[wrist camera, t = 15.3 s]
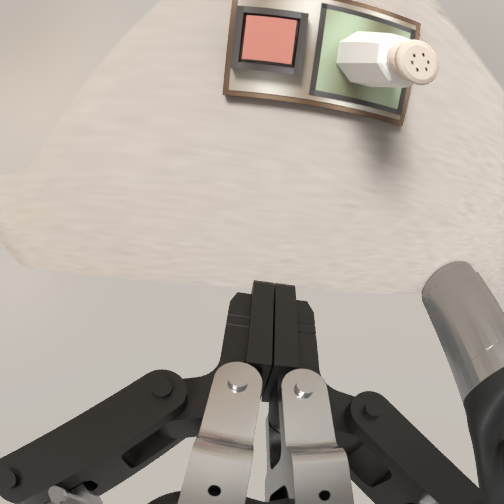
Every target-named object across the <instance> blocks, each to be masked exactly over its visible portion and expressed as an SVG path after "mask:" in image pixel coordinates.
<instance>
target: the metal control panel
mask: <svg viewBox="0 0 504 504" xmlns="http://www.w3.org/2000/svg"><path fill="white" fill-rule="evenodd" d="M247 15H254V16H265V17H274V18H282V19H289V20H296V21H297V25H296V32H295V40H294V48H293V55H292V63H291V64H284V63H277V62H268V61H259V60H248V59H242V52H243V43H244V34H245V25H246V17H247ZM420 25H421V23H418V22H416V21H413V20H411V19H408V18H405V17H403V16H400V15H397V14H394V13H391V12H389V11H386V10H383V9H379V8H376V7H373V6H370V5H366V4H363V3H359V2H356V1H352V0H232V8H231V16H230V25H229V34H228V44H227V53H226V64H225V74H224V85H223V95H232V96H244V97H255V98H264V99H272V100H280V101H287V102H294V103H301V104H307V105H313V106H319V107H324V108H329V109H335V110H340V111H344V112H349V113H354V114H358V115H362V116H367V117H371V118H375V119H379V120H383V121H386V122H390V123H394V124H397V125H401V126H403V121H404V117H405V112H406V108H407V103H408V98H409V93H410V88H411V85H410V86H409V87H405V88H400V87H369V86H365V85H361V84H357V83H353V82H350V81H349V80H348V78H347V77H346V76H345V74H344V73H343V72H342V70H341V69H340V67H339V66H338V65H337V63H336V61H337V55H338V48H339V42H340V41H342V40H343V39H345V38H347V37H348V36H350V35H352V34H353V33H355V32H357V31H365V32H381V33H392V34H396V35H400V36H403V37H405V38H408V39H411V40H413V39H415V40H419V33H420Z"/></svg>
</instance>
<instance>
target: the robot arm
mask: <svg viewBox="0 0 504 504" xmlns="http://www.w3.org/2000/svg"><path fill="white" fill-rule="evenodd" d="M422 301H423V303H424V305H425V308H426V310H427V312H428V314H429V316H430V319H431V321H432V323H433V326H434V328H435V330H436V332H437V335H438V337H439V340H440V342H441V345H442V347H443V350H444V352H445V355H446V357H447V360H448V362H449V365H450V368H451V370H452V373H453V376H454V378H455V381H456V384H457V387H458V389H459V392H460V396H461V399H462V401H463V405H464V408H465V411H466V415H467V422H468V428H469V432H470V436H471V440H472V444H473V449H474V455H475V460H476V467H477V475H478V482H479V488H478V487H477V486H476V485H475V484H474V483H473V482H472V481H471V480H470V479H469V478H468V477H466V476H465V475H464V474H463V473H462V472H461V471H460V470H459V469H458V468H457V467H456V466H455V465H454V464H453V463H452V462H451V461H450V460H449V459H448V458H446V456H444V455H443V454H442V453H441V452H440V451H439V450H438V449H437V448H436V447H435V446H434V445H433V444H432V443H431V442H430V441H429V440H428V439H427V438H426V437H425V436H424V435H423V434H422V433H420V431H418V430H417V429H416V428H415V427H414V426H413V425H412V424H411V423H410V422H409V421H408V420H407V419H406V418H405V417H404V416H403V415H402V414H401V413H400V412H399V411H398V410H397V409H396V408H395V407H394V406H393V405H392V404H390V402H389V401H388V400H387V399H386V398H384V397H383V396H382V395H380V394H378V393H376V392H371V391H366V392H362V393H360V394H358V395H357V396H356V397H354V396H351V395H348V394H345V393H342V392H339V391H336V390H334V389H333V388H331V387H330V386H328V385H327V384H326V383H325V381H324V380H323V378H322V377H321V375H320V371H319V363H318V351H317V341H316V336H315V334H316V331H315V326H314V325H315V321H314V312H313V311H312V309H311V308H310V306H309V304H308V302H307V301H300V300H296V292H295V286H293V285H285V284H278V283H275V284H274V283H270V282H263V281H256V280H254V282H253V287H252V293H251V294H246V293H239V292H238V293H237V294H236V295H235V296H234V297H233V299H232V300H231V301H230V306H229V311H228V316H227V322H226V328H225V334H224V340H223V346H222V352H221V358H220V362H219V364H218V366H217V367H216V368H215V369H214V370H213V371H212V372H210V373H209V374H207V375H204V376H202V377H195V378H187V379H182V378H181V377H180V376H179V375H177V374H176V373H174V372H172V371H169V370H155V371H152V372H150V373H148V374H146V375H144V376H143V377H141V378H140V379H138V380H137V381H135V382H133V383H132V384H130V385H129V386H127V387H125V388H124V389H122V390H120V391H119V392H117V393H115V394H114V395H112V396H110V397H109V398H107V399H105V400H104V401H102V402H100V403H99V404H97V405H95V406H94V407H92V408H90V409H89V410H87V411H85V412H84V413H82V414H80V415H79V416H77V417H75V418H74V419H72V420H70V421H68V422H66V423H65V424H63V425H61V426H59V427H58V428H56V429H54V430H53V431H51V432H49V433H47V434H45V435H43V436H42V437H40V438H38V439H36V440H34V441H33V442H31V443H29V444H27V445H25V446H23V447H21V448H20V449H18V450H16V451H14V452H12V453H10V454H8V455H7V456H4V457H3V458H1V459H0V496H1V497H2V498H4V499H5V500H7V501H9V502H12V503H14V504H103V503H102V501H101V499H100V497H99V496H100V495H102V494H103V493H105V492H107V491H108V490H110V489H111V488H113V487H115V486H116V485H118V484H119V483H121V482H123V481H124V480H126V479H127V478H129V477H130V476H132V475H134V474H135V473H137V472H138V471H140V470H141V469H143V468H144V467H146V466H147V465H149V464H150V463H151V462H153V461H154V460H155V459H157V458H159V457H160V456H161V455H163V454H164V453H166V452H167V451H169V450H170V449H171V448H173V447H174V446H175V445H177V444H178V443H179V442H181V441H182V440H184V439H185V438H187V437H195V436H197V437H196V439H195V442H194V445H193V448H192V452H191V456H190V459H189V463H188V467H187V471H186V474H185V478H184V482H183V486H182V489H181V491H178V492H173V493H169V494H166V495H163V496H161V497H158V498H157V499H155V500H153V501H151V502H150V503H148V504H354V500H353V493H352V486H351V480H352V481H353V482H354V483H355V484H356V485H357V486H358V487H359V488H360V489H361V490H362V491H363V492H364V493H365V494H366V495H367V496H368V497H369V498H370V499H371V500H372V501H373V502H374V503H375V504H504V312H503V310H502V309H501V307H500V305H499V304H498V302H497V301H496V299H495V298H494V296H493V294H492V293H491V291H490V290H489V288H488V287H487V285H486V283H485V282H484V281H483V279H482V278H481V276H480V275H479V273H477V272H475V271H474V269H473V268H472V267H471V266H470V265H469V264H468V263H466V262H454V263H450V264H448V265H446V266H444V267H442V268H441V269H439V270H438V271H437V272H436V273H434V274H433V275H432V277H431V278H430V279H429V280H428V282H427V283H426V285H425V287H424V289H423V293H422ZM261 396H262V401H263V402H269V413H268V416H267V418H266V447H267V475H266V479H265V502H261V501H258V500H255V499H251V498H248V497H246V494H247V489H248V483H249V477H250V471H251V465H252V459H253V441H254V435H255V428H256V422H257V416H258V409H259V403H260V399H261Z"/></svg>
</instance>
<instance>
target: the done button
mask: <svg viewBox="0 0 504 504" xmlns="http://www.w3.org/2000/svg"><path fill="white" fill-rule="evenodd" d="M296 25H297V21H296V20H289V19H282V18H274V17H265V16H254V15H247V17H246V25H245V34H244V43H243V52H242V59H248V60H259V61H268V62H277V63H284V64H291V63H292V55H293V48H294V40H295V32H296Z"/></svg>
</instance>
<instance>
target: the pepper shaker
mask: <svg viewBox="0 0 504 504" xmlns="http://www.w3.org/2000/svg"><path fill="white" fill-rule="evenodd" d="M336 63H337V65H338V66H339V67H340V69H341V70H342V72H343V73H344V74H345V76H346V77H347V78H348V80H349V81H350V82H353V83H357V84H361V85H365V86H369V87H400V88H405V87H409V86H410V85H412V84H417V85H425V84H428V83H430V82H432V81H433V80H434V78H435V77H436V75H437V73H438V68H439V66H438V59H437V56H436V54H435V52H434V51H433V49H432V48H431V47H430V46H429V45H428V44H426V43H425V42H423V41H420V40H415V39H413V40H411V39H408V38H405V37H403V36H400V35H396V34H392V33H381V32H365V31H357V32H355V33H353V34H352V35H350V36H348V37H347V38H345V39H343V40H342V41H340V42H339V48H338V55H337V61H336Z"/></svg>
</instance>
